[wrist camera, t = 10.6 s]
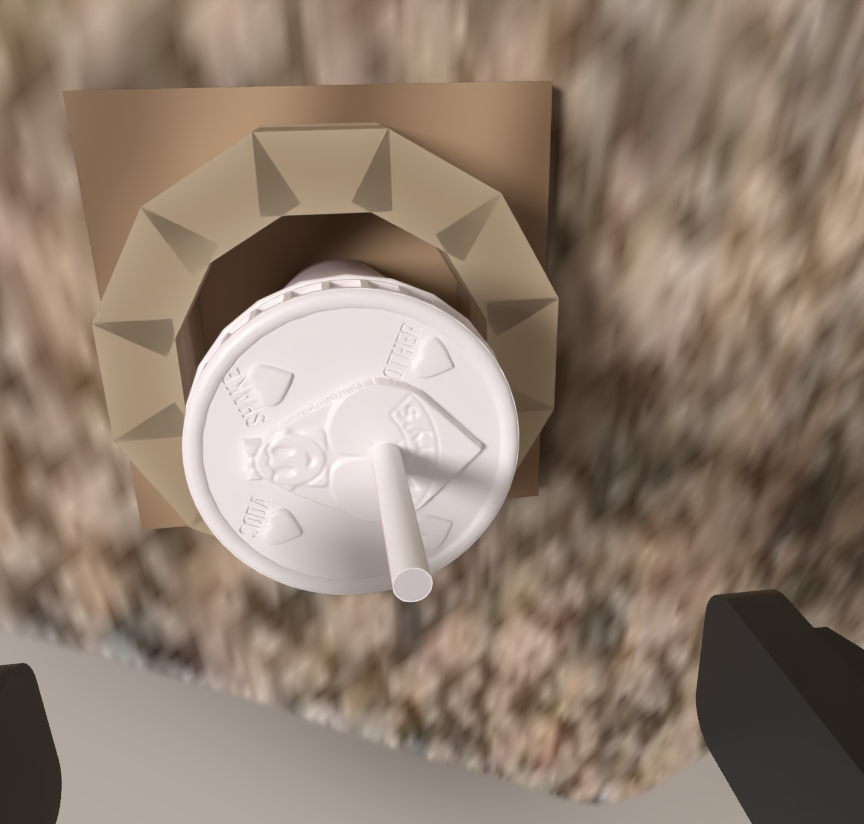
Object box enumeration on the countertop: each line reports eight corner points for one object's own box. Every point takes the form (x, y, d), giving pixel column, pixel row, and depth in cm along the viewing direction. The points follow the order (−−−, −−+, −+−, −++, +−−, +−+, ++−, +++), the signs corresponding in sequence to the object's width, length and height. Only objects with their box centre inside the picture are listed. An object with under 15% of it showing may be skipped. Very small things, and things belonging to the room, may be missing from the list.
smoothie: (444, 413, 25) (583, 745, 12) (239, 425, 24) (157, 793, 11) (445, 208, 23) (618, 351, 10) (218, 213, 22) (84, 376, 9)
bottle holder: (542, 81, 23) (608, 77, 18) (530, 481, 28) (579, 568, 23) (73, 91, 21) (-2, 89, 16) (148, 514, 26) (109, 615, 21)
